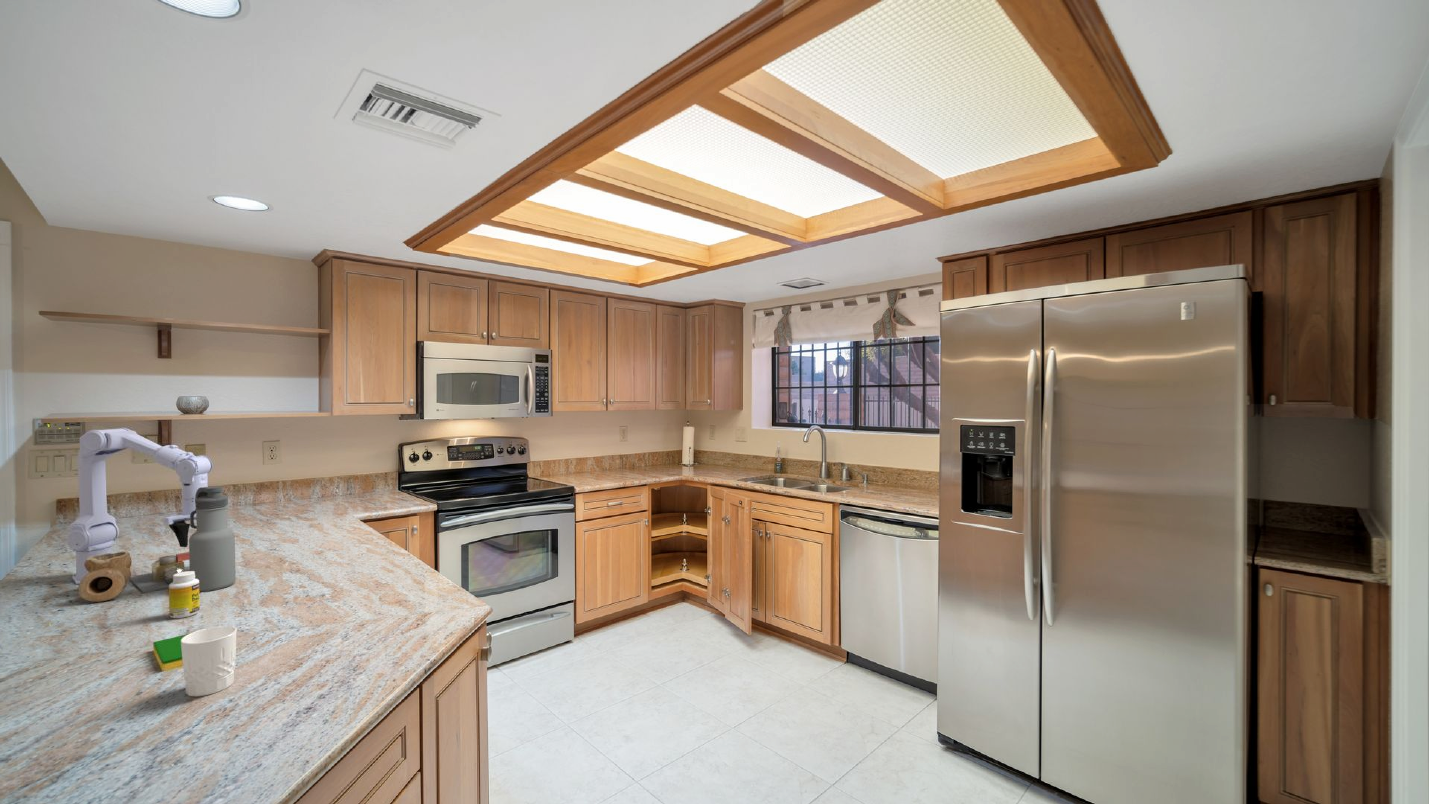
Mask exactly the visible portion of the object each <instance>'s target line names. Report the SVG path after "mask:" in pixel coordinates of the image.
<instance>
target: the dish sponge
mask: <svg viewBox="0 0 1429 804" xmlns="http://www.w3.org/2000/svg"><path fill="white" fill-rule="evenodd" d="M188 634H189V633H186V634H182V635H179V636H174V637H170V638H165V639H161V640H158V641H157V640H156V641H153V643H152V645H153V646H152V647H153V649H152V650H153V654H154V656H155V658H156V660H157V661H156V662H157V663H158V664H159V667H160V669H161V672H166V671H167V672H168V671H171V670H174V669H177V668H183V662H182V649H181V639H182V638H183V637H185V636H186V635H188Z"/></svg>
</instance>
